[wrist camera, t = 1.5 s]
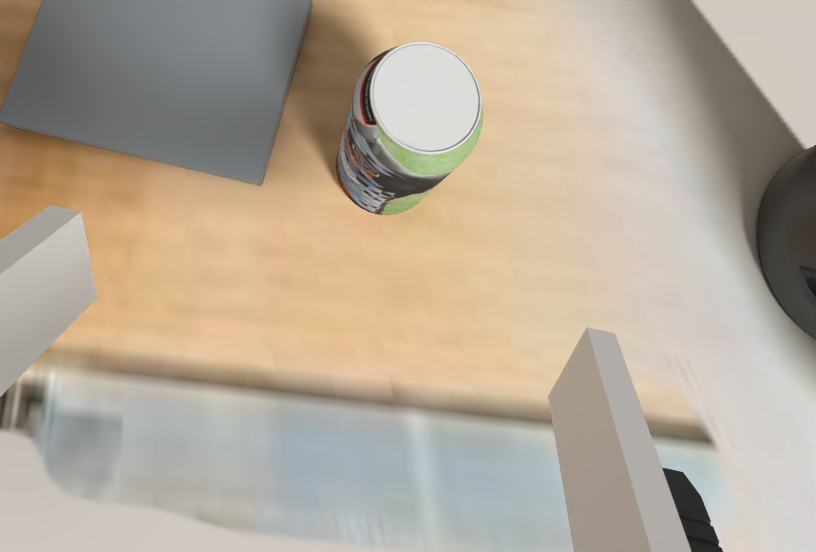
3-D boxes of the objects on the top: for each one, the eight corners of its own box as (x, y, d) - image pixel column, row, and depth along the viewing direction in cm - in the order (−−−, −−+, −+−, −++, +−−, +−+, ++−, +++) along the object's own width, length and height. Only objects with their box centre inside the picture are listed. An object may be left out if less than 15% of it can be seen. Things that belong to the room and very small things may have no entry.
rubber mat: (312, 5, 35) (310, -3, 34) (261, 185, 32) (259, 181, 32) (74, -55, 34) (67, -65, 33) (6, 125, 32) (-3, 119, 31)
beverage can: (354, 117, 34) (347, -10, 22) (460, 151, 34) (511, 43, 22) (323, 206, 33) (299, 122, 21) (434, 240, 33) (472, 177, 21)
